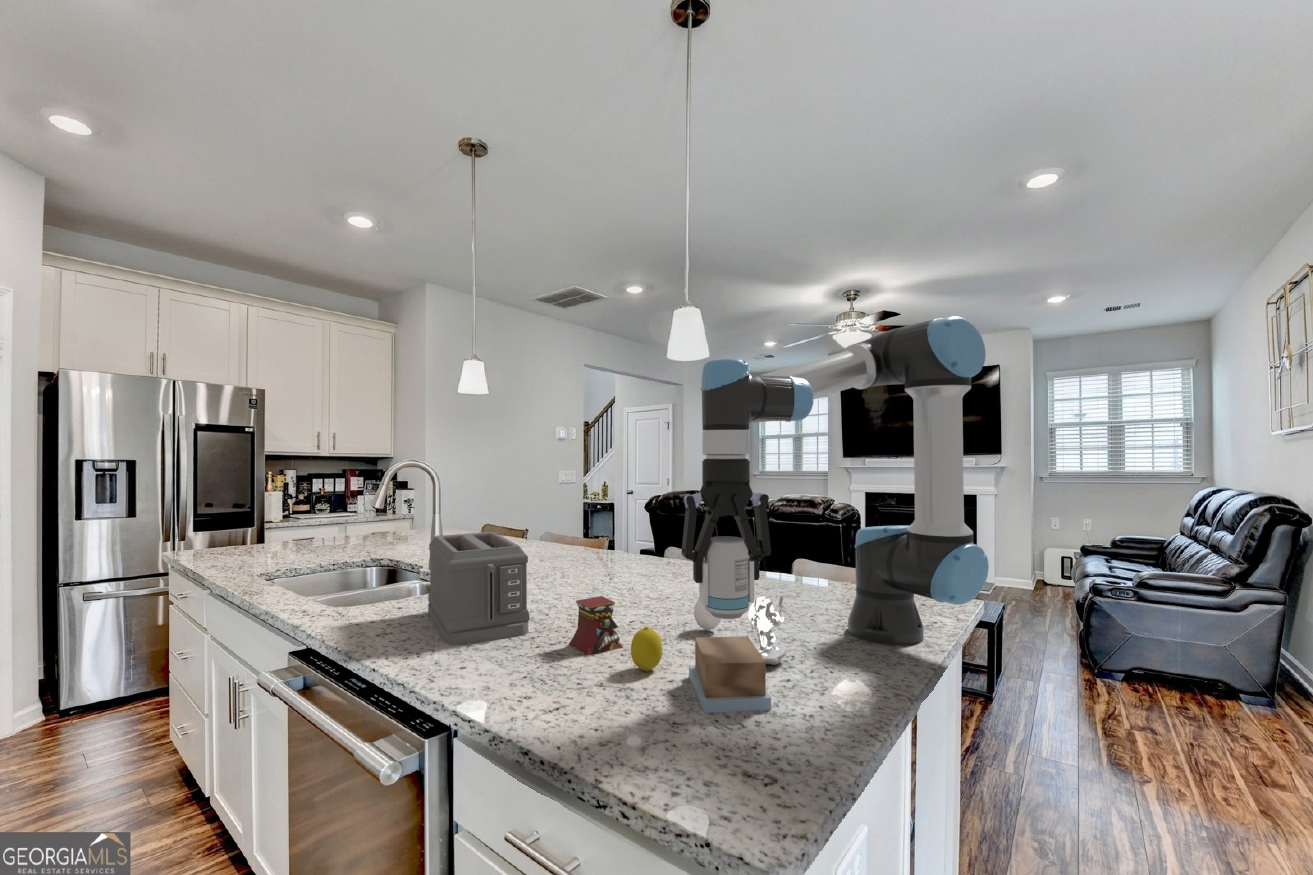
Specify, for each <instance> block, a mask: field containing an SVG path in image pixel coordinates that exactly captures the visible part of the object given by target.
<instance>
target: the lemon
mask: <svg viewBox="0 0 1313 875" xmlns="http://www.w3.org/2000/svg"><path fill="white" fill-rule="evenodd" d="M662 644H663V643H662V638H661V637H660V635H659V633H658V632H657V631H656V630H654V629H653V628H650V627H649V626H644V627H643V628H641V629H639V630H638V631H636V632H635V634H634V635H633V638H632V640H631V644H630V655H631V659H632V661H633V664H634V665H635V666H636V667H637V668H638V669H641V670H642V671H643V672H650V671H651V670H653V669H655V668H656V667H657V666H658V665H659V663H660V662H661V660H662V658H663V645H662Z"/></svg>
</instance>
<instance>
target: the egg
mask: <svg viewBox="0 0 1313 875" xmlns="http://www.w3.org/2000/svg"><path fill="white" fill-rule="evenodd" d="M693 608H694V609H693V617H694V620H695V622H696V624H697V625H698V626H699V627H700V628H702V629H703V630H705V631H706V630H707V631H710V630H714V629H715V628H717V626H719V624H720V623H721V620H722V619H721V618H717V617H714V616H712V614H711V613H710V612H708V611H707V610H706V609H705V605H703V604H702V603H701V602H700V601H699V598H698V599H697V600H696V602H695V604H694V607H693Z"/></svg>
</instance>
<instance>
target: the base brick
mask: <svg viewBox="0 0 1313 875" xmlns="http://www.w3.org/2000/svg"><path fill="white" fill-rule="evenodd" d="M688 678H689V681H690V683H691V685H692V687H693V690H694V692H695V694H696V697H697V699H698V701H699V704H700V706H701V708H702V710H703V712H704V713H705V714H707V713H729V712H730V713H731V711H735V712H753V711H752V710H761V711H772V697H771V696H770V694H769V693H768V691H767V690H766V696H752V697H717V698H706V697H705V694H704V692H703V689H702V686H701V683H700V680H699V677H698V674H697V671H696V668H695V664H694V665H693V664H692V665H688ZM749 710H751V711H749Z"/></svg>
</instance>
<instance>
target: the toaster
mask: <svg viewBox="0 0 1313 875" xmlns="http://www.w3.org/2000/svg"><path fill="white" fill-rule="evenodd" d="M428 550H429V551H430V554H429V555H430V556H429V557H430V559H429V560H430V562H429V564H430V577H429V579H430V580H429V581H430V591H429V592H428V596H427V598H428V599H427V600H428V606H427V608H428V609H427V610H428V614H427V615H428V616H429V619H430V620H431V622H432V624H433V625H434V627H435V628H436V630H437V632H438V634H439V635H440V637H441V639H442V640H443V642H444V643H445V644H447V645H455V646H456V645H465V644H467V645H468V644H471V643H472V644H473V643H480V642H487V641H495V640H496V641H497V640H502V639H510V638H514V637H515V638H516V637H521V636H525V635H527V634H528V633H529V621H530V620H531V619H530V612H529V610H528V608H527V605H528V603H527V602H528V599H527V598H528V597H527V596H528V595H527V593H528V591H527V590H528V588H527V586H528V585H527V580H528V579H527V578H528V577H527V568H528V567H527V566H528V563H529V556H528V555H527V554H526V553H525V551H524V550H523V548H522V547H521V546H520V545H519V544H517V543H515V542H514V541H512V540H509V539H507V538H506V537H504V536H502V535H501V534H498V533H497V532H495V531H486V532H485V531H483V532H474V533H473V532H472V533H458V534H443V535H436V536H435V538H433V540H432V541H431V542H430V543H429V544H428Z"/></svg>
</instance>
